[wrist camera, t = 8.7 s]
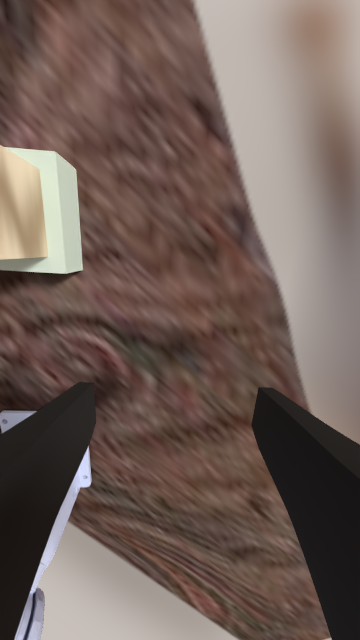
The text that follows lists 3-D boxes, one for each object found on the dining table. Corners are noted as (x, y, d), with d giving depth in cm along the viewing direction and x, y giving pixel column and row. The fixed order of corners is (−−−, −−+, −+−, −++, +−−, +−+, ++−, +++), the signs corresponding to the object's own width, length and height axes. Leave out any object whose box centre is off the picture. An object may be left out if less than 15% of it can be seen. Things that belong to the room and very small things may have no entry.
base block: (82, 269, 18) (66, 273, 15) (-9, 264, 18) (-44, 267, 15) (76, 169, 16) (55, 151, 13) (-28, 160, 15) (-73, 140, 13)
